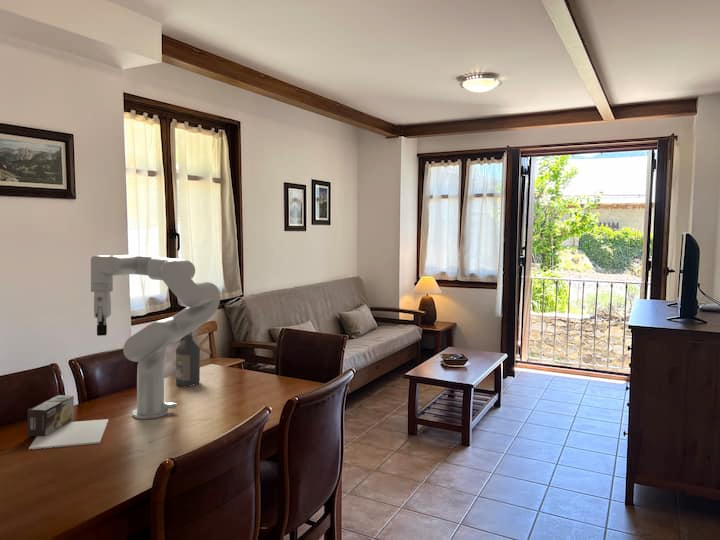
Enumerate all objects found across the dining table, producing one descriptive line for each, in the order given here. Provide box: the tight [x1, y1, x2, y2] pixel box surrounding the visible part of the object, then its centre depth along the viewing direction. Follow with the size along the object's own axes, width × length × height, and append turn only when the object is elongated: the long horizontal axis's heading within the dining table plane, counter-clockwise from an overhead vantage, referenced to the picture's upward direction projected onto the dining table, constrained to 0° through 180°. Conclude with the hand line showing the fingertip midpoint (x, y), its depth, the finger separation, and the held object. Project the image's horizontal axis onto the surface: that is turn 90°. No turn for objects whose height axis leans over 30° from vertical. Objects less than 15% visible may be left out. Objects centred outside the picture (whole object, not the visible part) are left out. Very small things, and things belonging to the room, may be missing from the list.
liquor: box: [175, 331, 201, 387], centre depth 241 cm, size 9×9×30 cm
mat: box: [28, 418, 109, 451], centre depth 177 cm, size 20×22×1 cm
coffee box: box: [26, 394, 75, 437], centre depth 180 cm, size 9×6×16 cm
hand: (101, 335), depth 201 cm, fingers closed
